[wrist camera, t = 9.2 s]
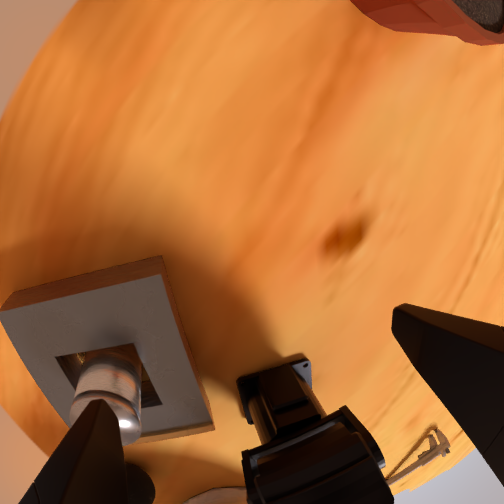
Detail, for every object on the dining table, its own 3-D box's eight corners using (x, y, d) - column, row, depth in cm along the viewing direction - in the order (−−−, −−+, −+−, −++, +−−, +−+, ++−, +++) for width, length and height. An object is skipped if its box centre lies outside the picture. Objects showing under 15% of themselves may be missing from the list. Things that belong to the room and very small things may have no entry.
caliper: (434, 427, 43) (452, 448, 37) (437, 427, 43) (455, 447, 37) (373, 489, 47) (385, 509, 41) (376, 488, 47) (389, 507, 42)
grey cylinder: (150, 372, 22) (152, 442, 16) (100, 381, 21) (91, 448, 15) (131, 327, 20) (122, 397, 14) (77, 338, 20) (56, 405, 13)
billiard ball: (130, 449, 25) (131, 496, 19) (163, 472, 27) (168, 515, 22) (90, 459, 24) (87, 503, 19) (124, 481, 27) (125, 521, 21)
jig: (209, 401, 24) (215, 429, 21) (88, 421, 22) (84, 448, 19) (161, 255, 19) (160, 276, 16) (13, 292, 17) (-6, 315, 14)
